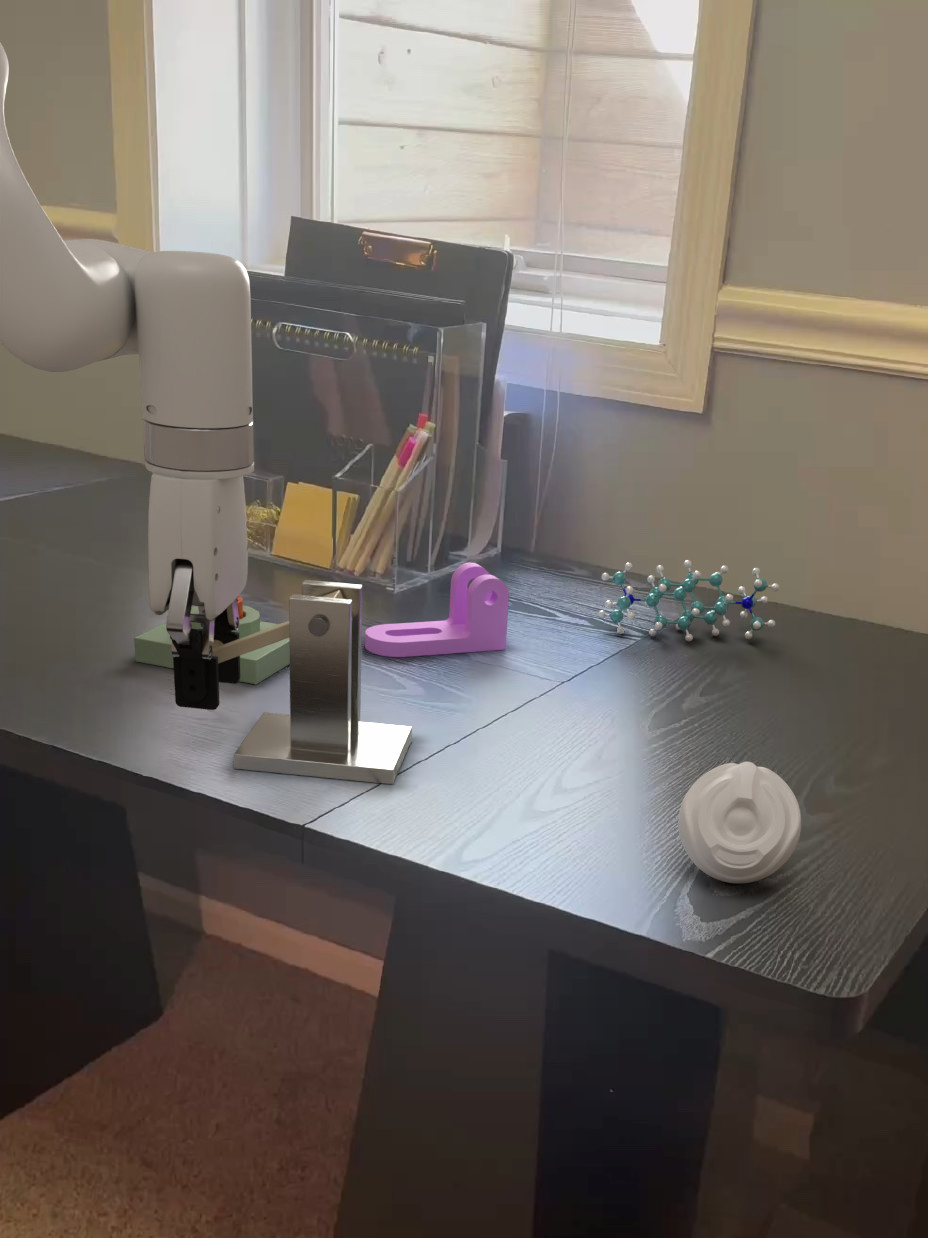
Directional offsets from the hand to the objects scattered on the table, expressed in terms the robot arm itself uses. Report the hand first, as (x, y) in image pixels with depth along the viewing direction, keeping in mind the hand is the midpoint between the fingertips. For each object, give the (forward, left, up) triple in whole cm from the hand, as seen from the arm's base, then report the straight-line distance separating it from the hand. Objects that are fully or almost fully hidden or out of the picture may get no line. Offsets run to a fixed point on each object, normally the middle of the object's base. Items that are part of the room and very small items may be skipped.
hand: (208, 691), depth 105 cm
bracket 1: (+9, +2, -4) cm, 10 cm away
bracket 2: (+6, +31, -4) cm, 32 cm away
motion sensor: (+42, -4, -4) cm, 42 cm away
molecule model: (+27, +47, -4) cm, 54 cm away
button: (-9, +18, -1) cm, 20 cm away
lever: (+5, +1, +4) cm, 7 cm away
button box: (-9, +18, -4) cm, 21 cm away
